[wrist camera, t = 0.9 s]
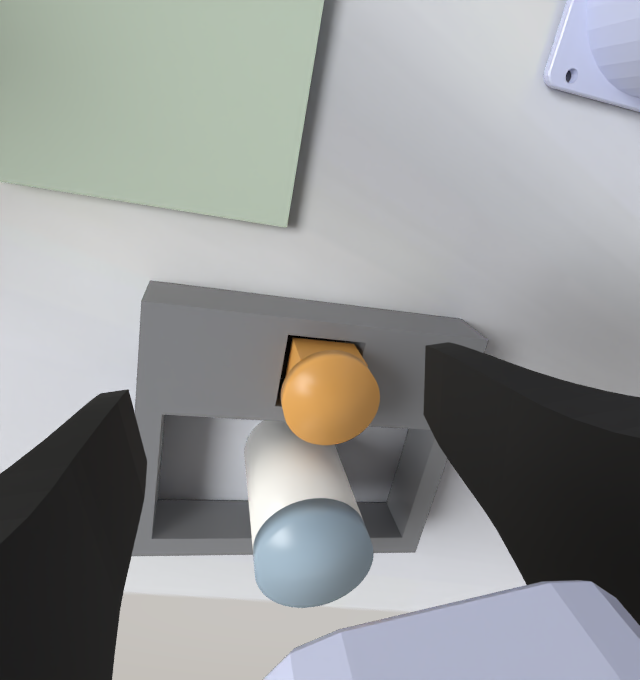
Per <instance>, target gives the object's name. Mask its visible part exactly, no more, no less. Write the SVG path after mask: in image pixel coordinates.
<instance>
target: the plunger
mask: <svg viewBox="0 0 640 680" xmlns="http://www.w3.org/2000/svg"><path fill="white" fill-rule="evenodd" d="M367 366H368V365H367V363H366V362H365V360H364V359H363V357H362V356H361V354H360V352H359V351H358V349H357V348H356V346H355V345H354V344H351V343H341V342H331V341H321V340H311V339H302V338H292V343H291V348H290V354H289V359H288V365H287V370H286V376H285V379H284V382H283V384H282V388H281V405H282V409H283V413H284V417H285V420H286V423H287V425H288V426H289V428H290V429H291V431H292V432H293V433H294V434H295V435H296V436H298V437H299V438H301V439H302V440H304V441H306V442H309V443H312V444H316V445H335V444H339V443H343V442H346V441H348V440H350V439H352V438H354V437H356V436H357V435H359V434H360V433H361V432H363V431H364V430H365V429H366V428H367V427H368V426H369V424H370V423H371V422H372V420H373V419H374V417H375V415H376V413H377V410H378V407H379V402H380V391H379V387H378V384H377V382H376V380H375V378H374V376H373V375H372V373H371V372H370V370H369V368H368V367H367Z"/></svg>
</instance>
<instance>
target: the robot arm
mask: <svg viewBox="0 0 640 680" xmlns="http://www.w3.org/2000/svg"><path fill="white" fill-rule="evenodd" d="M568 70H569V71H570V72H571V79H570V81H569V82H567V81H566V73H567V72H568ZM544 82H545V83H546V85H547V86H548V87H550V88H553V89H557V90H560V91H564V92H568V93H571V94H575V95H579V96H582V97H586V98H590V99H593V100H597V101H601V102H604V103H608V104H612V105H615V106H619V107H623V108H626V109H630V110H634V111H637V112H640V0H567V2H566V5H565V8H564V11H563V15H562V18H561V21H560V24H559V27H558V30H557V33H556V36H555V40H554V43H553V46H552V49H551V52H550V55H549V58H548V61H547V64H546V68H545V71H544ZM423 415H424V417H425V419H426V421H427V423H428V425H429V427H430V429H431V431H432V433H433V435H434V437H435V439H436V441H437V443H438V445H439V447H440V448H441V449H442V451H443V452H444V454H445V455H446V457H447V458H448V460H449V461H450V463H451V464H452V465H453V467H454V468H455V470H456V471H457V473H458V474H459V475H460V477H461V478H462V480H463V481H464V483H465V484H466V485H467V487H468V488H469V490H470V491H471V492H472V494H473V495H474V497H475V498H476V499H477V501H478V502H479V504H480V505H481V507H482V508H483V509H484V511H485V512H486V514H487V515H488V517H489V518H490V520H491V521H492V523H493V525H494V526H495V528H496V529H497V531H498V533H499V535H500V536H501V538H502V540H503V542H504V544H505V545H506V547H507V549H508V551H509V553H510V554H511V556H512V558H513V560H514V562H515V563H516V565H517V567H518V569H519V571H520V573H521V575H522V577H523V579H524V580H525V582H526V584H527V585H526V586H521V587H517V588H513V589H509V590H504V591H500V592H496V593H492V594H487V595H483V596H479V597H474V598H470V599H466V600H462V601H457V602H453V603H449V604H445V605H440V606H436V607H432V608H428V609H423V610H419V611H415V612H411V613H406V614H402V615H398V616H394V617H389V618H385V619H381V620H377V621H372V622H368V623H364V624H359V625H355V626H351V627H347V628H342V629H338V630H336V631H334V632H332V633H329V634H327V635H324V636H322V637H319V638H317V639H315V640H312V641H310V642H308V643H305V644H303V645H301V646H298V647H296V648H294V649H293V650H292V651H291V652H290V653H289V654H288V655H287V656H286V657H285V658H284V659H283V660H282V661H281V662H280V663H279V664H278V665H277V666H276V667H275V668H273V670H271V671H270V672H269V673H268V674H267V675H266V676H265V677H264V678H263V679H262V680H640V397H634V396H628V395H623V394H618V393H613V392H608V391H604V390H599V389H595V388H591V387H587V386H583V385H578V384H575V383H571V382H567V381H564V380H560V379H557V378H554V377H551V376H547V375H544V374H541V373H538V372H535V371H532V370H529V369H526V368H523V367H520V366H517V365H515V364H512V363H509V362H506V361H503V360H501V359H498V358H495V357H493V356H490V355H487V354H485V353H482V352H479V351H476V350H474V349H471V348H468V347H465V346H462V345H458V344H455V343H450V342H446V343H439V344H433V345H426V346H425V380H424V413H423ZM146 474H147V458H146V454H145V451H144V447H143V443H142V439H141V436H140V432H139V428H138V424H137V420H136V417H135V413H134V409H133V405H132V401H131V398H130V394H129V390H121V391H115V392H108V393H101V394H99V395H98V396H96V397H95V398H94V399H92V400H91V401H90V402H89V403H87V404H86V405H85V406H84V407H83V408H81V409H80V410H79V411H78V412H77V413H76V414H74V415H73V416H72V417H71V418H70V419H69V420H67V421H66V422H65V423H64V424H63V425H61V426H60V427H59V428H58V429H57V430H56V431H54V432H53V433H52V434H51V435H50V436H48V437H47V438H46V439H45V440H44V441H42V442H41V443H40V444H39V445H37V446H36V447H35V448H33V449H32V450H31V451H30V452H28V453H27V454H26V455H24V456H23V457H22V458H21V459H19V460H18V461H17V462H15V463H14V464H13V465H12V466H10V467H9V468H8V469H6V470H5V471H3V472H2V473H1V474H0V680H112V673H113V664H114V654H115V646H116V638H117V630H118V621H119V613H120V607H121V601H122V596H123V590H124V586H125V581H126V577H127V573H128V569H129V564H130V560H131V556H132V551H133V547H134V543H135V539H136V534H137V530H138V526H139V521H140V517H141V512H142V508H143V503H144V497H145V487H146Z"/></svg>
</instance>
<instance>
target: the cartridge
mask: <svg viewBox="0 0 640 680" xmlns="http://www.w3.org/2000/svg"><path fill="white" fill-rule="evenodd" d="M244 457H245V468H246V479H247V491H248V502H249V513H250V524H251V535H252V546H253V557H254V569H255V578H256V582H257V585H258V587H259V589H260V590H261V591H262V593H263V594H264V595H265V596H266V597H268V598H269V599H271V600H272V601H274V602H276V603H278V604H281V605H285V606H289V607H297V608H306V607H315V606H320V605H324V604H327V603H330V602H333V601H335V600H337V599H339V598H341V597H343V596H345V595H346V594H348V593H349V592H351V591H352V590H353V589H354V588H356V587H357V586H358V585H359V584H360V583H361V582H362V580H363V579H364V578H365V576H366V575H367V573H368V571H369V570H370V567H371V565H372V561H373V546H372V543H371V540H370V537H369V534H368V532H367V529H366V526H365V524H364V521H363V518H362V516H361V513H360V510H359V508H358V505H357V502H356V500H355V497H354V494H353V492H352V489H351V486H350V484H349V481H348V479H347V476H346V473H345V471H344V468H343V465H342V463H341V460H340V457H339V455H338V452H337V449H336V447H335V445H316V444H312V443H309V442H306V441H304V440H302V439H301V438H299V437H298V436H296V435H295V434H294V433H293V432H292V431H291V429H290V428H289V426H288V425H287V423H286V422H285V421H267V420H263V421H262V422H261V423H259V424H258V425H257V426H256V427H255V428H254V429H253V431H252V432H251V433H250V435H249V437H248V438H247V441H246V444H245V448H244Z"/></svg>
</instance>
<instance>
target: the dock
mask: <svg viewBox="0 0 640 680" xmlns="http://www.w3.org/2000/svg"><path fill="white" fill-rule="evenodd" d="M288 335H295V336H305V337H314V338H324V339H334V340H343V341H345V343H351V344H354V345H355V346H356V348H357V349H358V351H359V352H360V354H361V356H362V357H363V359H364V360H365V362H366V363H367V365H368V366H367V367H368V368H369V370H370V372H371V373H372V375H373V376H374V378H375V380H376V382H377V384H378V387H379V391H380V402H379V407H378V410H377V413H376V415H375V417H374V419H373V420H372V422H371V423H370V424H369V426H372V427H390V428H407V429H409V430H408V433H407V437H406V440H405V443H404V446H403V450H402V453H401V456H400V460H399V463H398V466H397V470H396V473H395V476H394V480H393V483H392V486H391V489H390V493H389V496H388V499H387V503H357V505H358V508H359V510H360V513H361V516H362V518H363V521H364V524H365V526H366V529H367V532H368V534H369V537H370V540H371V543H372V546H373V553H408V552H415V551H416V549H417V546H418V543H419V540H420V537H421V534H422V531H423V528H424V525H425V523H426V520H427V517H428V514H429V511H430V508H431V505H432V502H433V499H434V497H435V494H436V491H437V488H438V485H439V482H440V479H441V476H442V473H443V471H444V468H445V465H446V462H447V459H448V458H447V457H446V455H445V454H444V452H443V451H442V449H441V448H440V447H439V445H438V443H437V441H436V439H435V437H434V435H433V433H432V431H431V429H430V427H429V425H428V423H427V421H426V419H425V417H424V415H423V413H424V380H425V346H426V345H433V344H439V343H446V342H450V343H455V344H458V345H462V346H465V347H468V348H471V349H474V350H476V351H479V352H482V353H484V352H485V349H486V346H487V343H488V339H486V338H485V337H484V336H483V335H481V334H480V333H479V332H478V331H476V330H475V329H474V328H472V327H471V326H470V325H469V324H467V323H466V322H465V321H464V320H462V319H457V318H449V317H441V316H432V315H424V314H416V313H408V312H400V311H392V310H384V309H376V308H368V307H359V306H351V305H343V304H335V303H327V302H319V301H311V300H303V299H295V298H286V297H278V296H270V295H262V294H254V293H246V292H238V291H230V290H222V289H213V288H205V287H197V286H189V285H181V284H173V283H165V282H157V281H150V282H149V284H148V286H147V289H146V291H145V294H144V296H143V298H142V301H141V317H140V334H139V351H138V368H137V385H136V402H135V417H136V420H137V424H138V428H139V432H140V436H141V439H142V443H143V447H144V451H145V454H146V458H147V474H146V487H145V497H144V503H143V508H142V512H141V517H140V521H139V526H138V530H137V534H136V539H135V543H134V547H133V551H132V556H185V555H253V546H252V535H251V524H250V513H249V502H248V501H220V500H158V489H159V478H160V466H161V454H162V442H163V430H164V419H165V415H180V416H197V417H215V418H232V419H250V420H267V421H285V422H286V420H285V417H284V413H283V409H282V405H281V388H282V384H283V382H284V379H280V377H281V371H282V366H283V360H284V355H285V349H286V344H287V338H288Z"/></svg>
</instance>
